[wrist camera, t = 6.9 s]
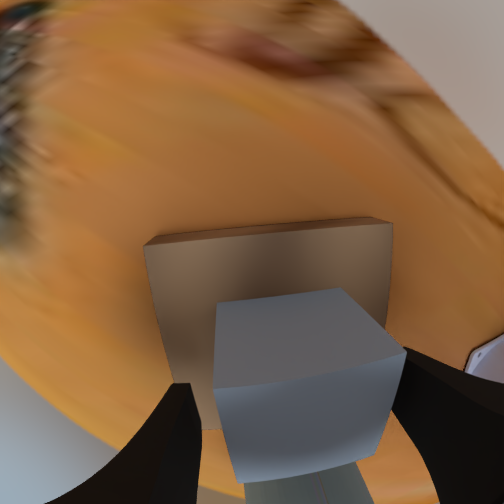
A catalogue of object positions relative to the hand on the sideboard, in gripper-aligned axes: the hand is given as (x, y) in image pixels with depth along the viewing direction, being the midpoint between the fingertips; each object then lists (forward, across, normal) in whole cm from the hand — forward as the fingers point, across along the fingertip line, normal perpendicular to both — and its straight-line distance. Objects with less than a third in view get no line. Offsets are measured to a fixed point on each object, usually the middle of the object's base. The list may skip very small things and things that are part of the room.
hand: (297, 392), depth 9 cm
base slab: (+5, 0, 0) cm, 5 cm away
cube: (+3, 0, 0) cm, 3 cm away
